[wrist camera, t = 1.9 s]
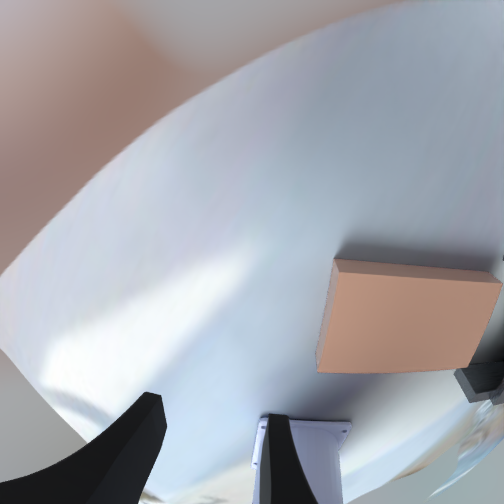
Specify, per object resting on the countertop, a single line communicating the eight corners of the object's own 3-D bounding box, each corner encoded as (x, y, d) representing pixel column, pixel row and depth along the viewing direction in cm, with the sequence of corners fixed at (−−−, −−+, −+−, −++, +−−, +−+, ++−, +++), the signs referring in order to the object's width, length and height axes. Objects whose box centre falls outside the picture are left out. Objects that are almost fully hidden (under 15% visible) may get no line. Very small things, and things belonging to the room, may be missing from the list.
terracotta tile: (455, 349, 19) (467, 367, 17) (314, 349, 20) (317, 372, 18) (485, 269, 16) (502, 283, 14) (332, 255, 17) (339, 272, 15)
